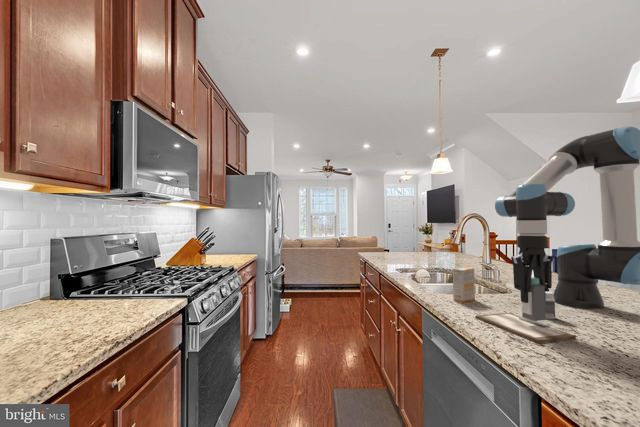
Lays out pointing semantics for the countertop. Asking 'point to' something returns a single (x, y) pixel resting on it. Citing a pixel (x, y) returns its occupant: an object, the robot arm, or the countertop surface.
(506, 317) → the brown rectangular tray
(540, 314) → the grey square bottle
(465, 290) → the supplement box
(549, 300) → the pill bottle
